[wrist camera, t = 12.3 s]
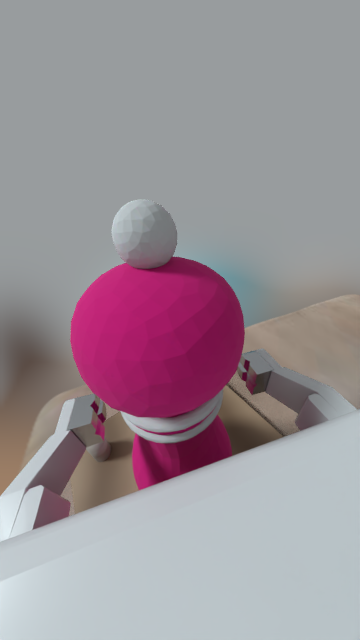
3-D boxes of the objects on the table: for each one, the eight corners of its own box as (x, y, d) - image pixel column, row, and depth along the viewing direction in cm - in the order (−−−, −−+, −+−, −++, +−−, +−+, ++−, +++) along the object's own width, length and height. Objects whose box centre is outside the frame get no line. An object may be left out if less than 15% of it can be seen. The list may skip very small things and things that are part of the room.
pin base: (200, 367, 27) (199, 349, 25) (347, 504, 14) (371, 491, 12) (70, 450, 19) (54, 433, 17) (142, 922, 6) (111, 1086, 4)
